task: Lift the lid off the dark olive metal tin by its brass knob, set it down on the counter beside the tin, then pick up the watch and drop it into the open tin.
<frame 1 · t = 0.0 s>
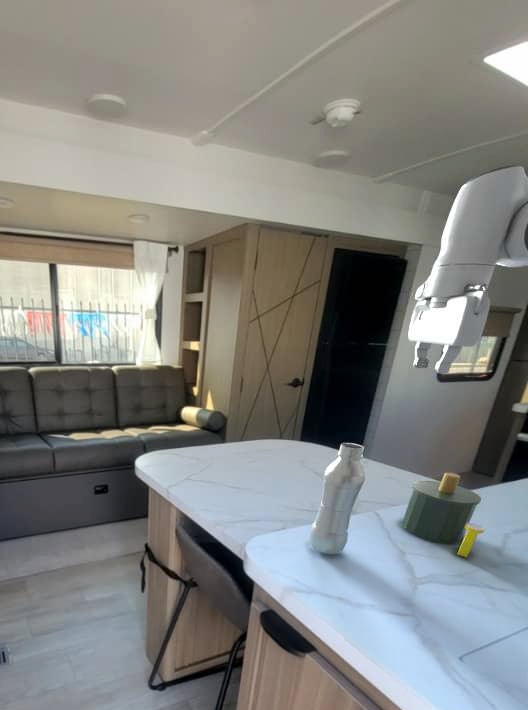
hand: (429, 370, 77), 31 cm above the table, tool pointing down, fingers open, 8 cm apart
watch: (462, 554, 77), on the table
tin lid: (445, 494, 81), point 8 cm above the table, touching tin
tin: (430, 530, 85), on the table
plastic bottle: (324, 550, 76), on the table
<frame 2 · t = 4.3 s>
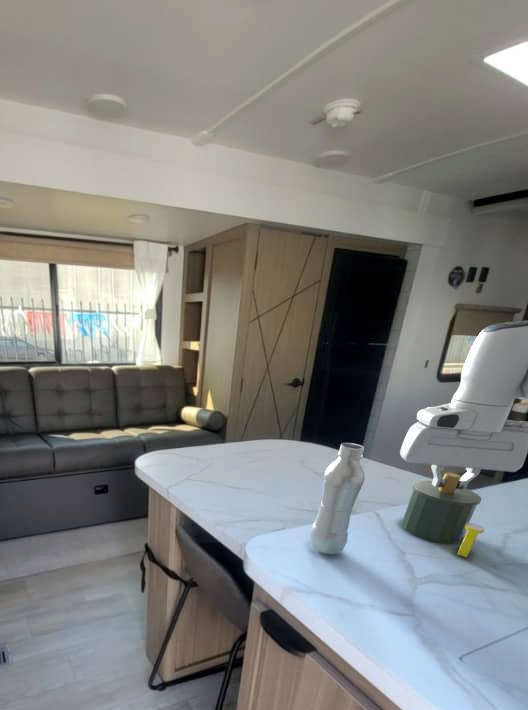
hand: (447, 487, 81), 10 cm above the table, tool pointing down, fingers closed on tin lid, 2 cm apart
tin lid: (445, 494, 81), point 8 cm above the table, touching gripper, tin
everything else where it was.
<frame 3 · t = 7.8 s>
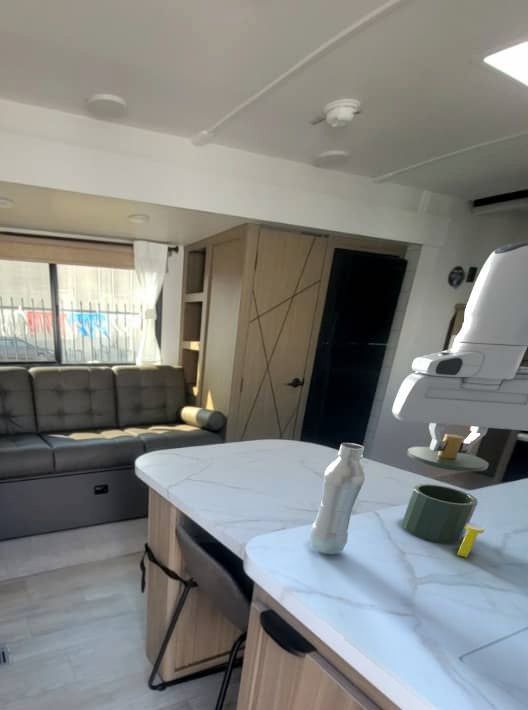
hand: (448, 451, 68), 20 cm above the table, tool pointing down, fingers closed on tin lid, 2 cm apart
tin lid: (445, 459, 69), point 18 cm above the table, touching gripper
everything else where it was.
when the fingers open (2 cm above the table, at t = 11.8 s): tin lid stays where it is, point 1 cm above the table.
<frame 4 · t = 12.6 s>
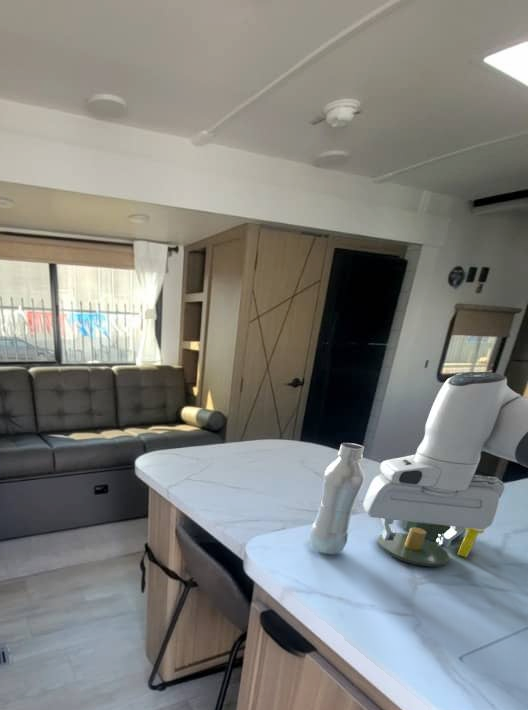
hand: (414, 542, 75), 2 cm above the table, tool pointing down, fingers open, 8 cm apart
tin lid: (411, 549, 76), point 1 cm above the table
everything else where it was.
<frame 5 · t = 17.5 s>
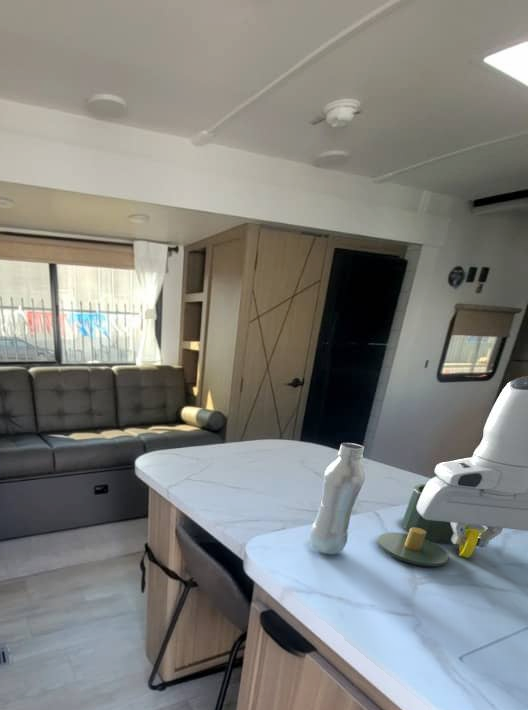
hand: (467, 544, 76), 2 cm above the table, tool pointing down, fingers closed on watch, 2 cm apart
watch: (463, 555, 77), on the table, touching gripper
everything else where it was.
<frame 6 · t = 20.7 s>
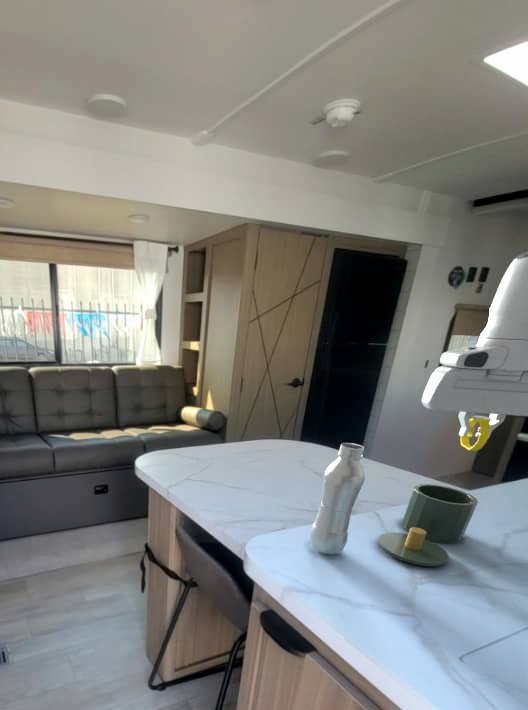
hand: (473, 437, 75), 20 cm above the table, tool pointing down, fingers closed on watch
watch: (468, 449, 76), point 18 cm above the table, touching gripper
everything else where it was.
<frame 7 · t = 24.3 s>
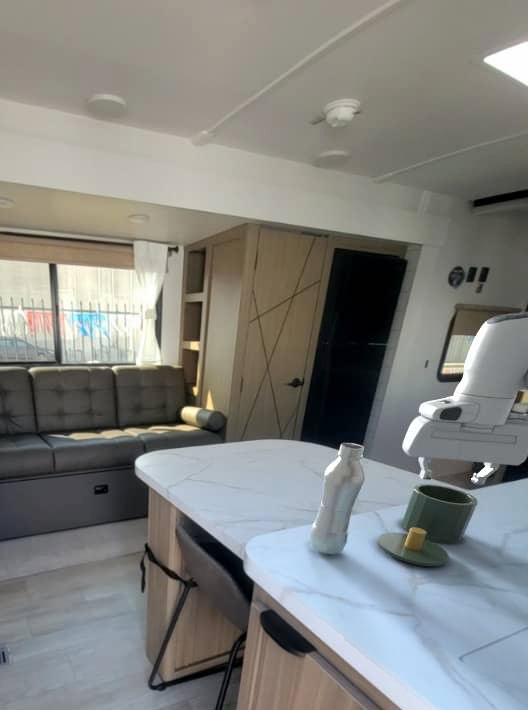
hand: (450, 481, 80), 11 cm above the table, tool pointing down, fingers open, 8 cm apart
watch: (432, 528, 85), point 1 cm above the table, touching tin
everything else where it was.
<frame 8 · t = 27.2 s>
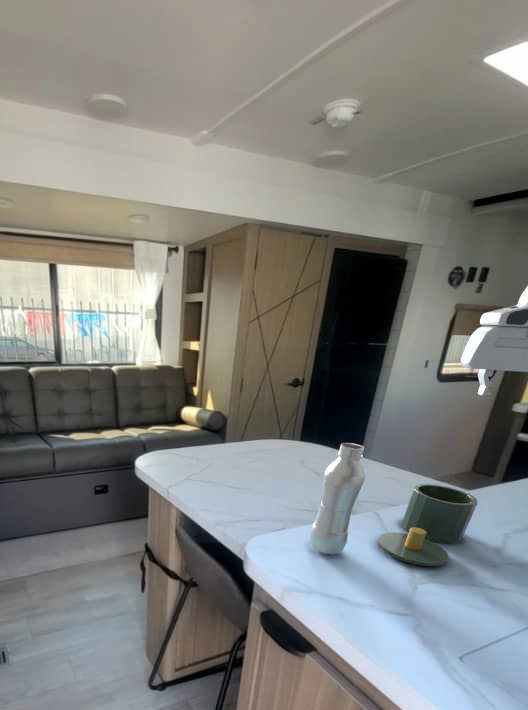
hand: (511, 396, 77), 27 cm above the table, tool pointing down, fingers open, 8 cm apart
nothing on the table moved.
at the end: tin lid point 0.6 cm above the table; tin lid inside the target area (0.0 cm from its centre), point 0.6 cm above the table; watch 0.3 cm off-centre in the tin, point 0.6 cm above the tin's base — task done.
